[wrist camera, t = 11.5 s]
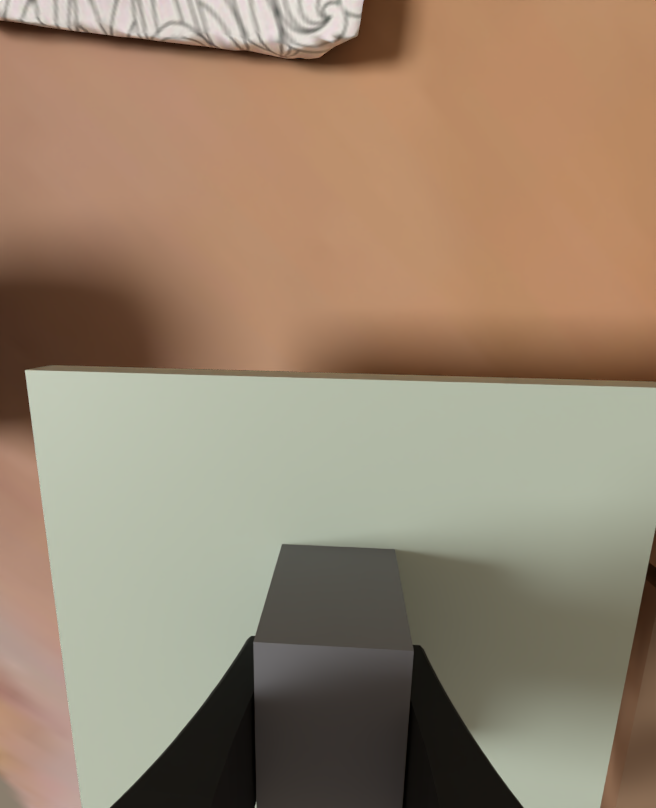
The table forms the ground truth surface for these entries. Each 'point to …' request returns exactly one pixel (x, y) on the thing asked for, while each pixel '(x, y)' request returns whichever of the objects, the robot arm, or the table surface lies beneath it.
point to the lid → (346, 567)
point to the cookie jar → (204, 22)
